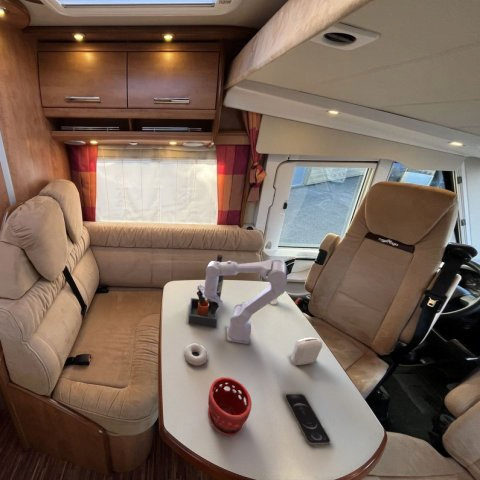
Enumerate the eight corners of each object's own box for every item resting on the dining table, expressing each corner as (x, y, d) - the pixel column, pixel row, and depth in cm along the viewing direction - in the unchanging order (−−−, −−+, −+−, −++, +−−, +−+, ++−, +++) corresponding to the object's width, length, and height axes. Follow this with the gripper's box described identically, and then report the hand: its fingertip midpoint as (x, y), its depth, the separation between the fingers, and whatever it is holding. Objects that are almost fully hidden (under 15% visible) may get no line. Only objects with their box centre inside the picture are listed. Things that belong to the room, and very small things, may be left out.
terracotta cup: (207, 312, 125) (208, 300, 121) (207, 319, 120) (208, 307, 117) (197, 311, 126) (198, 299, 122) (196, 318, 121) (198, 306, 117)
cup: (262, 299, 136) (266, 283, 131) (270, 296, 138) (275, 281, 134) (271, 306, 131) (276, 290, 126) (280, 303, 133) (285, 287, 128)
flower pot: (248, 444, 73) (255, 422, 68) (205, 435, 75) (209, 413, 70) (242, 401, 85) (248, 379, 79) (205, 394, 87) (209, 372, 81)
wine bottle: (206, 304, 131) (212, 257, 119) (207, 296, 138) (213, 251, 125) (219, 306, 130) (226, 259, 117) (220, 298, 136) (227, 253, 123)
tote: (215, 308, 128) (216, 301, 126) (215, 327, 116) (217, 319, 114) (190, 305, 130) (190, 297, 128) (188, 323, 118) (189, 315, 116)
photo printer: (295, 366, 97) (303, 345, 92) (288, 357, 101) (296, 337, 96) (316, 363, 99) (326, 342, 94) (309, 354, 103) (318, 334, 97)
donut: (182, 365, 97) (207, 369, 95) (183, 359, 96) (207, 363, 94) (185, 345, 106) (207, 349, 104) (185, 339, 105) (208, 343, 103)
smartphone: (303, 394, 86) (332, 442, 73) (303, 395, 87) (331, 444, 73) (284, 394, 86) (308, 443, 73) (283, 395, 87) (308, 445, 73)
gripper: (193, 280, 110) (191, 303, 116) (216, 297, 100) (212, 321, 106) (204, 276, 114) (201, 298, 120) (227, 292, 103) (223, 315, 109)
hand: (207, 308), depth 113 cm, fingers open, 7 cm apart
